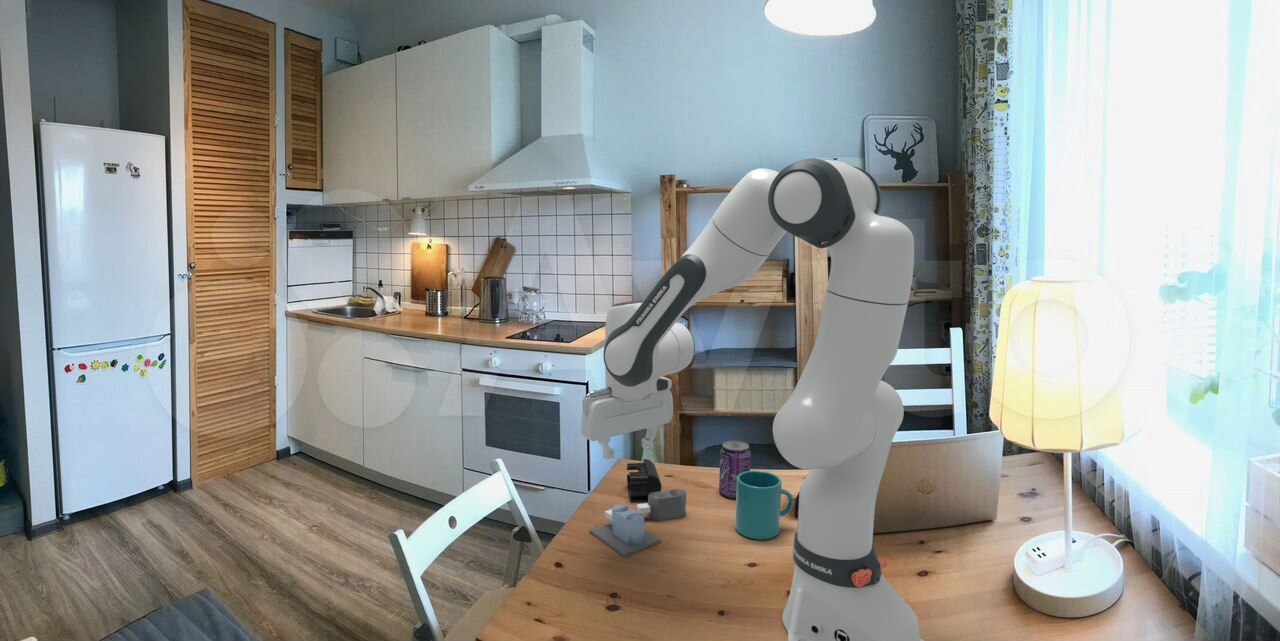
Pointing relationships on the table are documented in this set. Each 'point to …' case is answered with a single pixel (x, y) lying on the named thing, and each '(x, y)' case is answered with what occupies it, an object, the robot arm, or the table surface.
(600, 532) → the pad
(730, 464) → the beverage can
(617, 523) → the blue connector
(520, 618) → the table surface
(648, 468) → the end cap
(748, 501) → the cup
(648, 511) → the dark gray connector
